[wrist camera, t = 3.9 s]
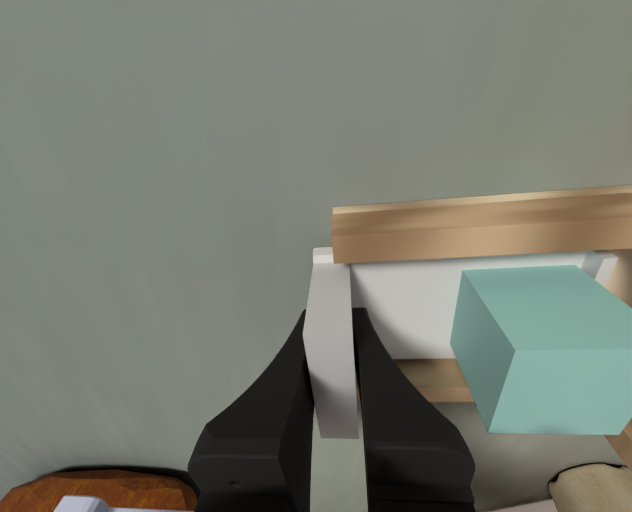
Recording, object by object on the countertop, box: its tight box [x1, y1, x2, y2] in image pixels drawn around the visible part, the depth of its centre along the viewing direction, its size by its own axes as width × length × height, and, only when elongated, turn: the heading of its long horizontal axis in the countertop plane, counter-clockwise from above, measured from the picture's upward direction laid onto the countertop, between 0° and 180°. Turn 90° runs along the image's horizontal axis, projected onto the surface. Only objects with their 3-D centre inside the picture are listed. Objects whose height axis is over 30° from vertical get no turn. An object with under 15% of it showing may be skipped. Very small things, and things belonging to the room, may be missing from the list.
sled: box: [303, 247, 618, 439], centre depth 12 cm, size 12×7×5 cm, turn 96°
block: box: [450, 265, 632, 435], centre depth 12 cm, size 4×4×4 cm
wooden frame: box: [331, 185, 632, 472], centre depth 11 cm, size 18×10×8 cm, turn 96°
